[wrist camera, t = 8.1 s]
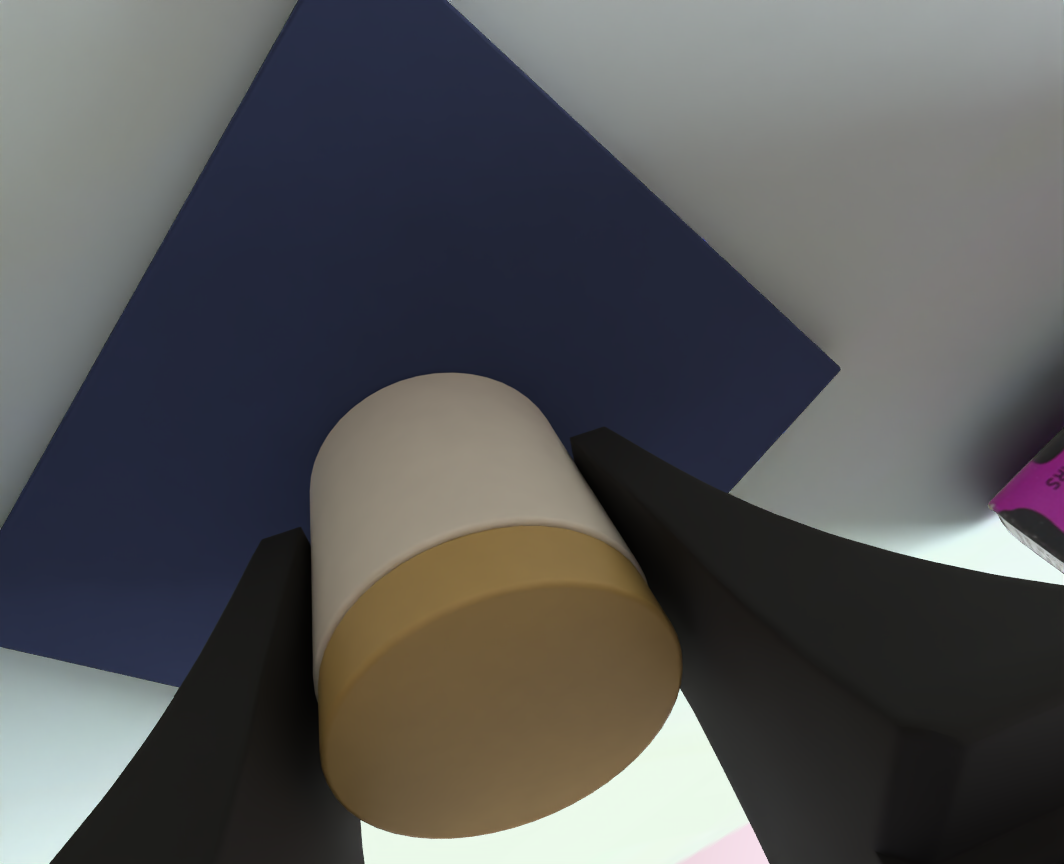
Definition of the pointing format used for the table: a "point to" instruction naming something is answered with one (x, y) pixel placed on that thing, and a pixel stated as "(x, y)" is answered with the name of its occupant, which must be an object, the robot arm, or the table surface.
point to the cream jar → (473, 616)
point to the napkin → (373, 324)
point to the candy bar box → (1037, 503)
